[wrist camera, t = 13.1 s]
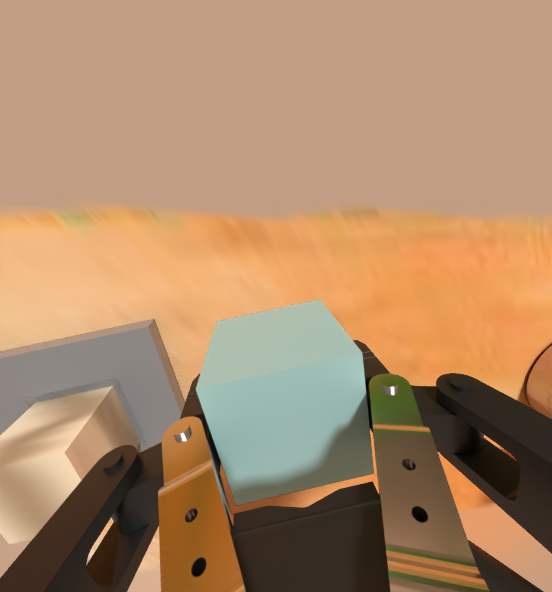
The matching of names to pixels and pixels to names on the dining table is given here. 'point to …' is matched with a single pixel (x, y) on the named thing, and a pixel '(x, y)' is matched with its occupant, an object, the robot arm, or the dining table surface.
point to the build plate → (97, 376)
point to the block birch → (55, 455)
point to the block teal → (286, 402)
